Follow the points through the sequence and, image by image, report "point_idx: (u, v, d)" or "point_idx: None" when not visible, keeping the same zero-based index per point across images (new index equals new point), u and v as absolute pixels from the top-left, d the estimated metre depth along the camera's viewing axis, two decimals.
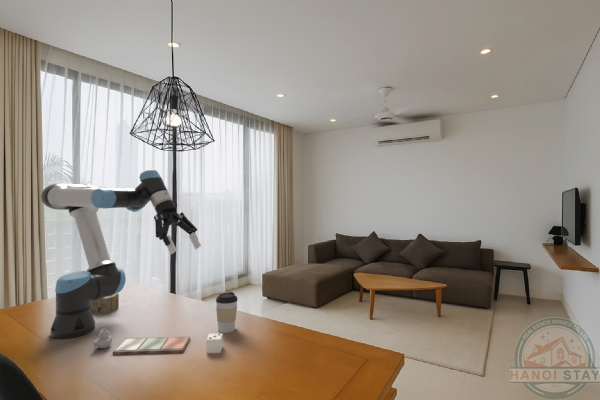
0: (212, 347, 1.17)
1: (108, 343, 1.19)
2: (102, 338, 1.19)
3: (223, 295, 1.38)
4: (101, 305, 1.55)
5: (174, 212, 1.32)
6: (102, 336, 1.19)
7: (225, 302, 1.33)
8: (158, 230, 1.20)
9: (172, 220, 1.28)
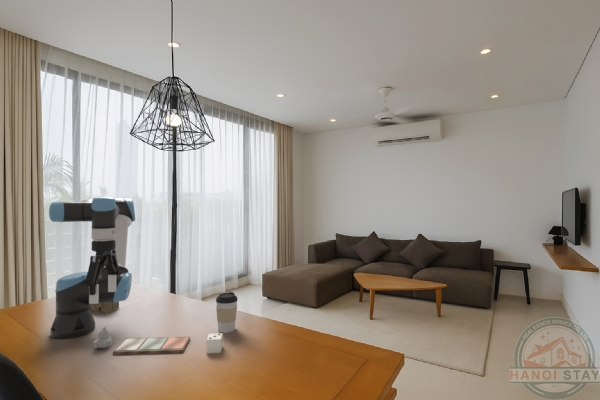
0: (212, 347, 1.17)
1: (108, 343, 1.19)
2: (102, 338, 1.19)
3: (223, 295, 1.38)
4: (102, 305, 1.55)
5: (109, 251, 1.22)
6: (102, 336, 1.19)
7: (225, 302, 1.33)
8: (91, 278, 1.10)
9: None
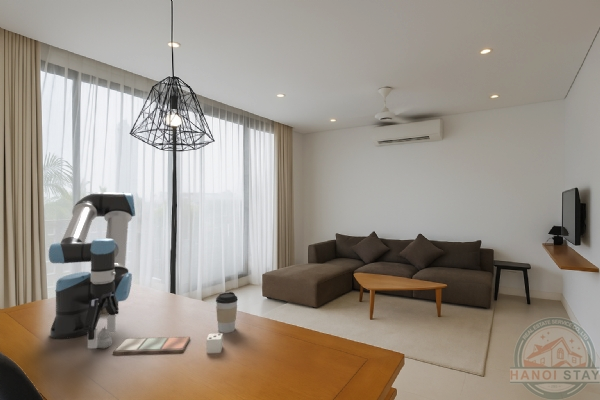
0: (212, 347, 1.17)
1: (108, 343, 1.19)
2: (102, 338, 1.19)
3: (223, 295, 1.38)
4: None
5: (108, 292, 1.22)
6: (102, 336, 1.19)
7: (225, 302, 1.33)
8: (89, 323, 1.10)
9: None
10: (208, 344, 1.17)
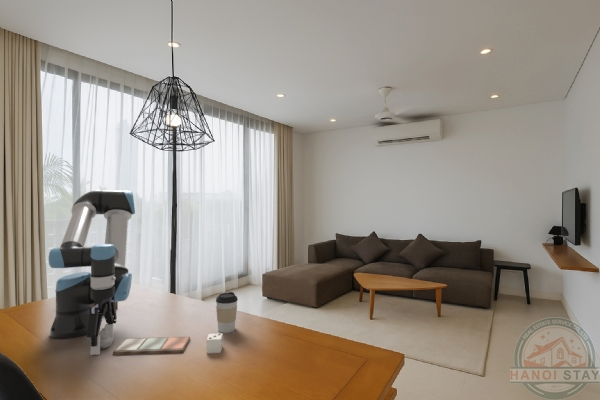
0: (212, 347, 1.17)
1: (108, 343, 1.19)
2: (102, 338, 1.19)
3: (223, 295, 1.38)
4: None
5: (108, 297, 1.22)
6: (102, 336, 1.19)
7: (225, 302, 1.33)
8: (92, 331, 1.12)
9: None
10: (208, 344, 1.17)
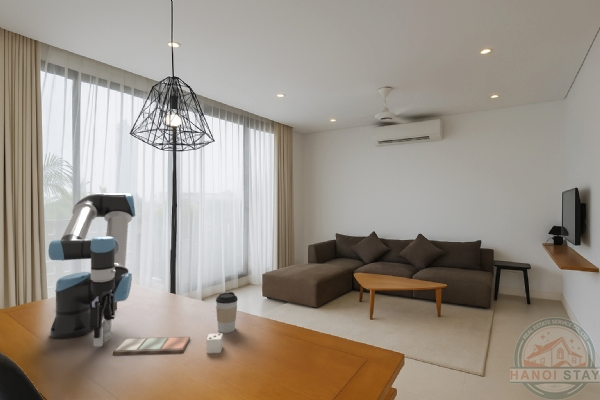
0: (212, 347, 1.17)
1: (108, 337, 1.19)
2: None
3: (223, 295, 1.38)
4: None
5: None
6: None
7: (225, 302, 1.34)
8: (94, 323, 1.14)
9: None
10: (208, 344, 1.17)
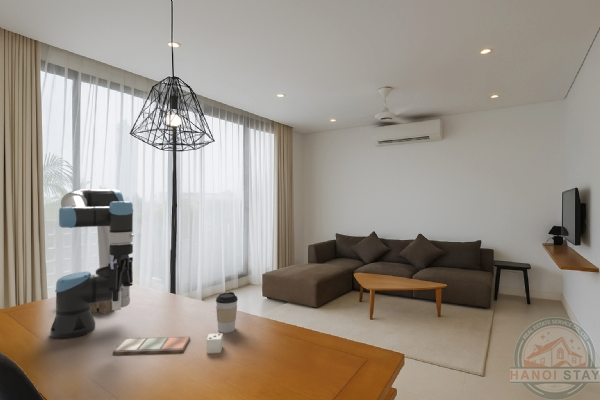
0: (212, 347, 1.17)
1: (126, 302, 1.19)
2: None
3: (223, 295, 1.38)
4: (100, 305, 1.54)
5: (127, 255, 1.22)
6: None
7: (225, 302, 1.34)
8: (113, 285, 1.13)
9: None
10: (208, 344, 1.17)
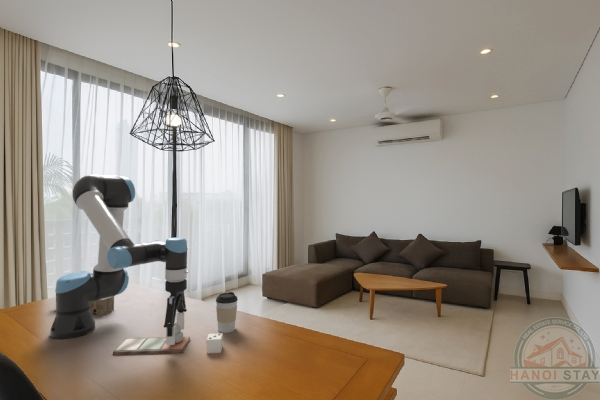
0: (212, 347, 1.17)
1: (181, 338, 1.21)
2: (175, 333, 1.21)
3: (223, 295, 1.38)
4: (97, 306, 1.53)
5: None
6: (175, 331, 1.21)
7: (225, 302, 1.34)
8: (169, 321, 1.13)
9: None
10: (208, 344, 1.17)
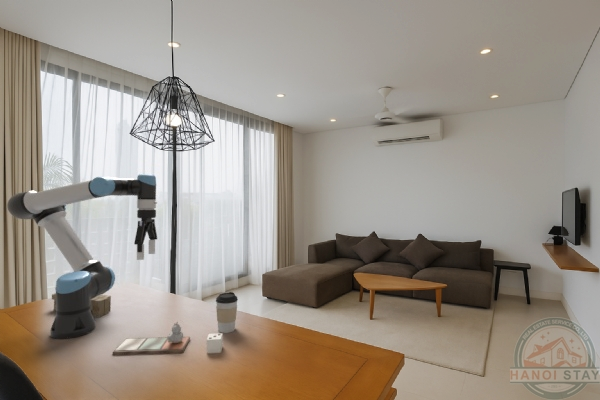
0: (212, 347, 1.17)
1: (181, 338, 1.21)
2: (175, 333, 1.21)
3: (223, 295, 1.38)
4: (94, 308, 1.51)
5: (150, 219, 1.48)
6: (175, 331, 1.21)
7: (225, 302, 1.33)
8: (139, 238, 1.36)
9: None
10: (208, 344, 1.17)
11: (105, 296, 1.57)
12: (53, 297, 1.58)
